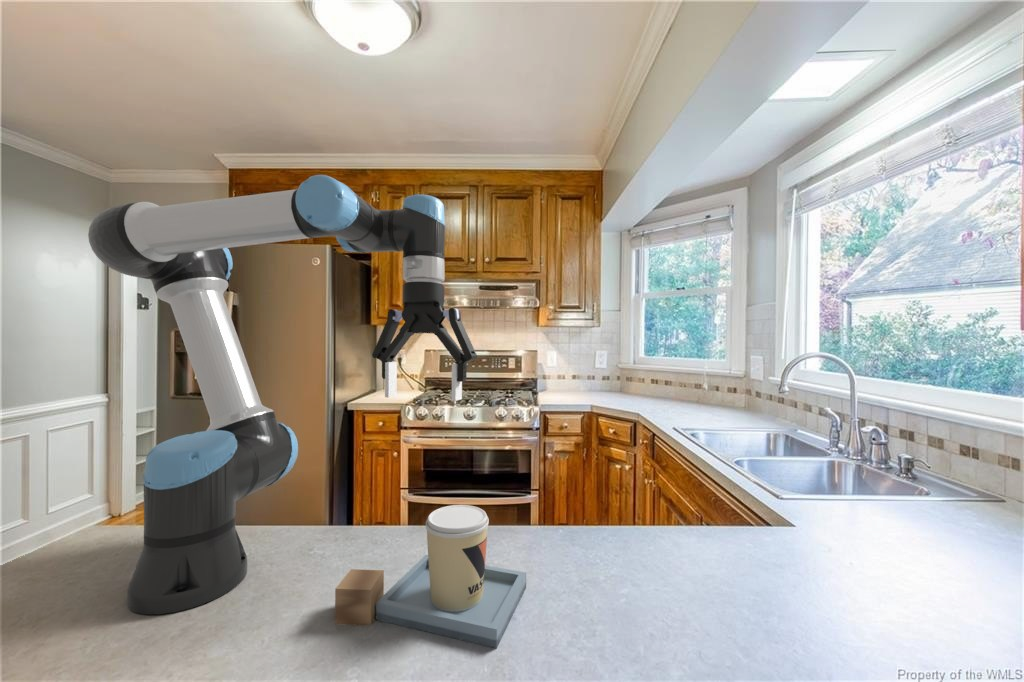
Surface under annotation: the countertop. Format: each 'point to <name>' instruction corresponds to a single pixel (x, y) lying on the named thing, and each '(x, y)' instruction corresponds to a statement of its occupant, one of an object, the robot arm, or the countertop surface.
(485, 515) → the coffee cup
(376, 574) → the walnut block
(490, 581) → the collection tray
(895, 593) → the countertop surface
